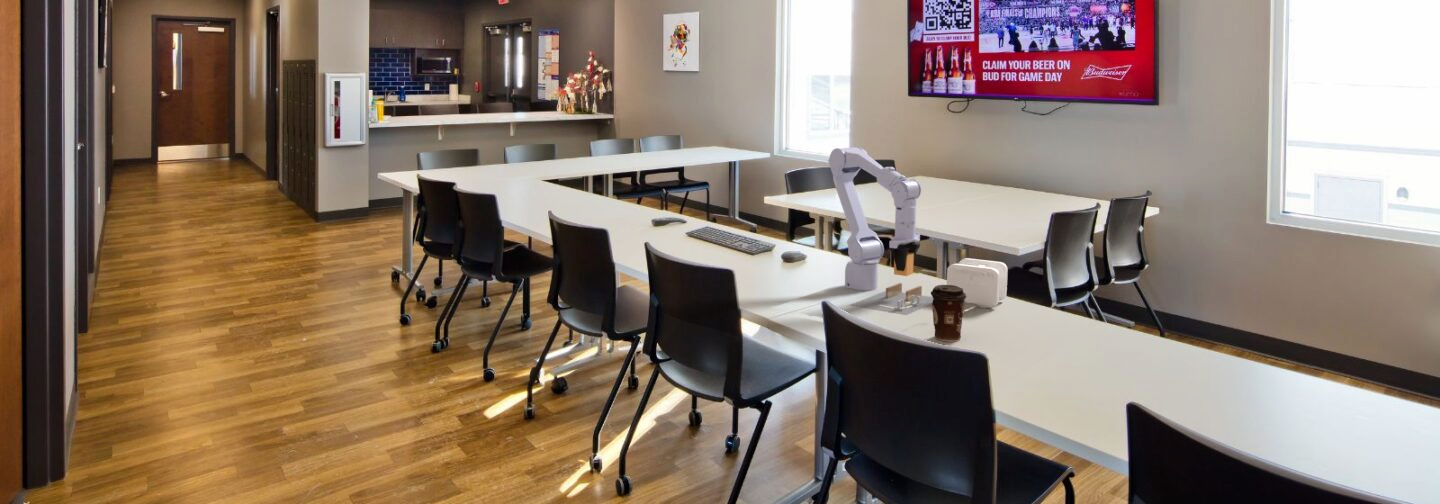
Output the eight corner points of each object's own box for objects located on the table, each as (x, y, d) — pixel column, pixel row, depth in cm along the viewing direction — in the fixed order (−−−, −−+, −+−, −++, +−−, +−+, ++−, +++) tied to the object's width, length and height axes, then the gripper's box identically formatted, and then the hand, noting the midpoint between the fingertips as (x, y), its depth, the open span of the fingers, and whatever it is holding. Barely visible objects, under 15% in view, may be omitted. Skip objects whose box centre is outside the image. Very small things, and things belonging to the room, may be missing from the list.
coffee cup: (924, 340, 229) (926, 289, 227) (933, 332, 236) (935, 282, 234) (960, 344, 225) (962, 292, 223) (968, 336, 232) (970, 285, 230)
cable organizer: (1009, 302, 265) (1011, 263, 263) (995, 310, 257) (997, 269, 254) (959, 295, 274) (960, 257, 272) (944, 303, 266) (945, 263, 263)
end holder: (885, 298, 268) (885, 288, 267) (899, 292, 274) (899, 283, 273) (908, 301, 263) (908, 291, 263) (921, 296, 269) (921, 286, 269)
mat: (848, 308, 261) (849, 296, 260) (887, 293, 278) (887, 281, 277) (906, 318, 250) (906, 305, 249) (943, 302, 266) (943, 289, 266)
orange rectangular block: (893, 274, 267) (894, 253, 266) (900, 271, 270) (901, 251, 269) (906, 276, 265) (906, 255, 263) (913, 273, 268) (913, 253, 266)
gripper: (905, 227, 256) (904, 275, 259) (930, 220, 267) (928, 266, 270) (883, 224, 261) (882, 272, 263) (907, 218, 272) (906, 263, 274)
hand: (904, 269), depth 267 cm, fingers closed on orange rectangular block, 4 cm apart
